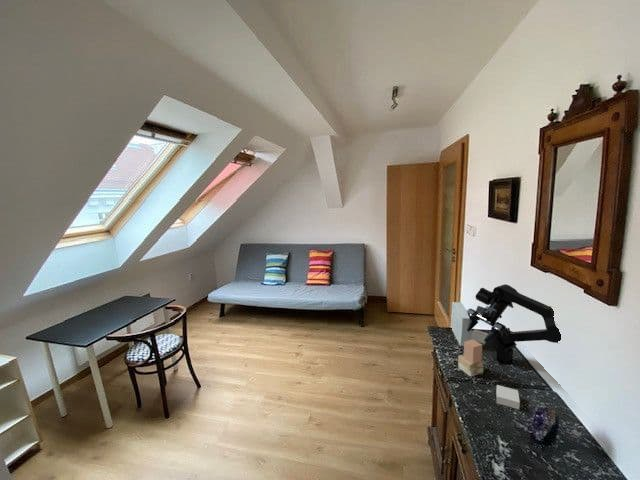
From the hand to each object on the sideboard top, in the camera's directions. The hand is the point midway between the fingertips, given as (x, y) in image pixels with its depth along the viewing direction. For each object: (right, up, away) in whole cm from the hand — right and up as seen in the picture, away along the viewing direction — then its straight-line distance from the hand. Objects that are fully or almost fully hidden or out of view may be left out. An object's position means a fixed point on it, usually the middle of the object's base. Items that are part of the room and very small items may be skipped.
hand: (475, 335), depth 129 cm
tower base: (-4, -15, -2) cm, 16 cm away
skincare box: (+6, -9, +25) cm, 27 cm away
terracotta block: (-4, -9, -4) cm, 11 cm away
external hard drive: (+14, -10, +23) cm, 29 cm away
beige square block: (-4, -12, -3) cm, 13 cm away
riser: (+1, -18, -21) cm, 27 cm away
